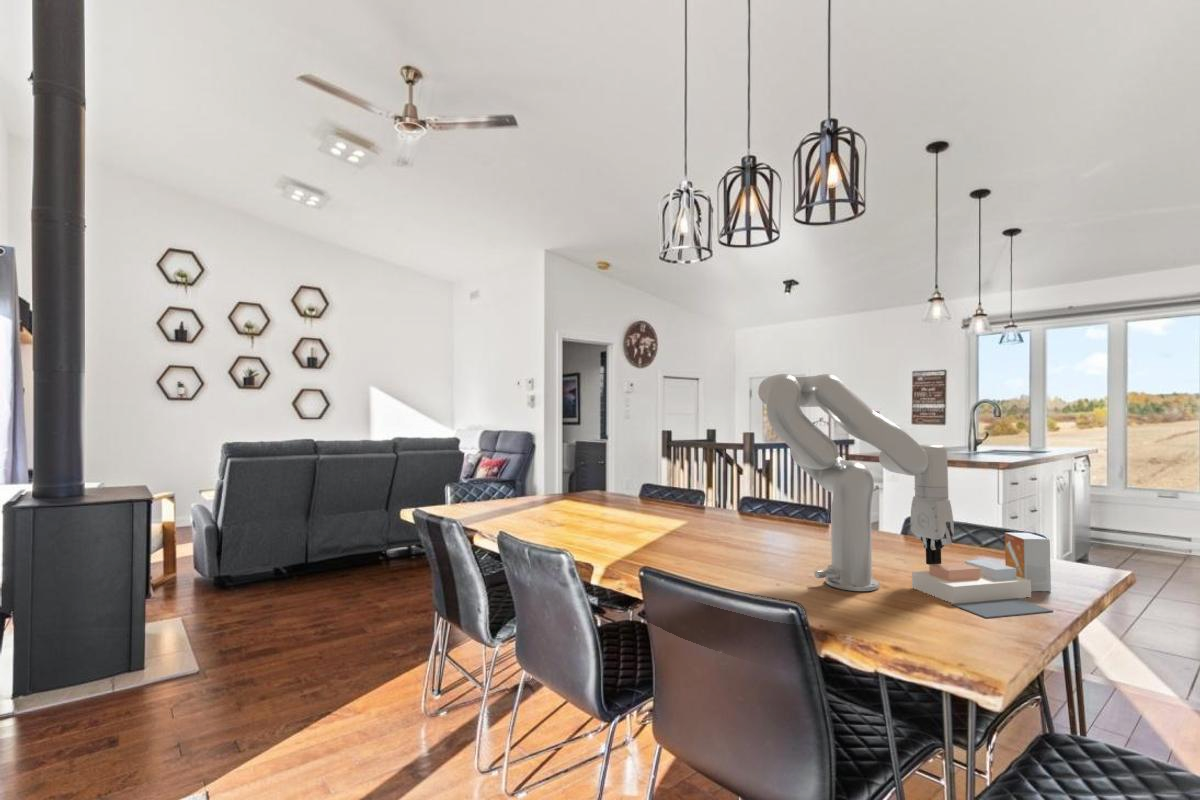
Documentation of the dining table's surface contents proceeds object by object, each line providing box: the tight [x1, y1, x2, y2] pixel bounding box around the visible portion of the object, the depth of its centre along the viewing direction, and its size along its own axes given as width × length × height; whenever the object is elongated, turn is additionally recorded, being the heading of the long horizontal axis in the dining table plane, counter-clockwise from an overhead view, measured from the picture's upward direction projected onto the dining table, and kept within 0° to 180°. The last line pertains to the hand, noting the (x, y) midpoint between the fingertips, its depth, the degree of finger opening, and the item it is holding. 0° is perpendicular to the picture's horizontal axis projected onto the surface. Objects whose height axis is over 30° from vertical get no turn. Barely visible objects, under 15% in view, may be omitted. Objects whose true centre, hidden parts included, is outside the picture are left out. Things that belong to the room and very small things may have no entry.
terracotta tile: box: [928, 562, 980, 581], centre depth 144 cm, size 9×6×2 cm, turn 103°
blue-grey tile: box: [964, 558, 1016, 580], centre depth 146 cm, size 9×6×2 cm, turn 13°
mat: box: [951, 598, 1054, 619], centre depth 133 cm, size 18×9×1 cm, turn 103°
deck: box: [911, 570, 1032, 604], centre depth 145 cm, size 22×13×4 cm, turn 103°
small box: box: [1004, 532, 1052, 593], centre depth 149 cm, size 8×6×13 cm
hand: (933, 564), depth 151 cm, fingers closed
